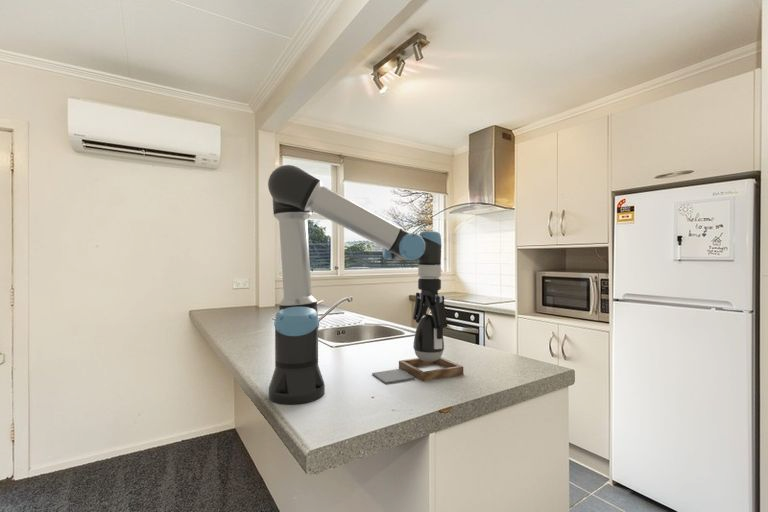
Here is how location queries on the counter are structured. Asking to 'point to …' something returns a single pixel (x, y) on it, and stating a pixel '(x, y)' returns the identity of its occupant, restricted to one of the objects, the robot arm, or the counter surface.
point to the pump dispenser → (426, 340)
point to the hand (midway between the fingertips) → (429, 345)
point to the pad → (393, 376)
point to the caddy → (447, 371)
